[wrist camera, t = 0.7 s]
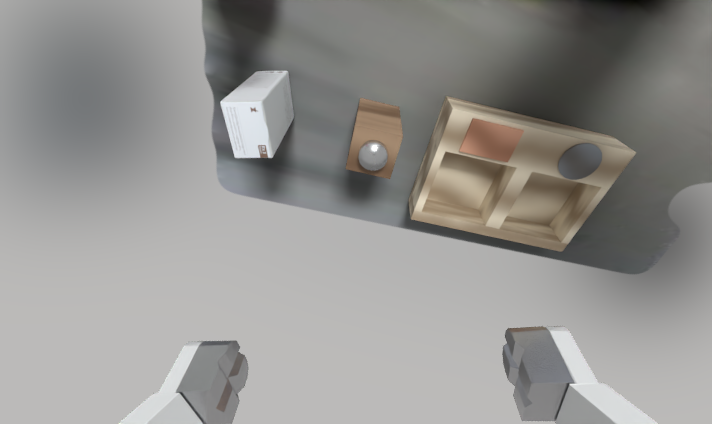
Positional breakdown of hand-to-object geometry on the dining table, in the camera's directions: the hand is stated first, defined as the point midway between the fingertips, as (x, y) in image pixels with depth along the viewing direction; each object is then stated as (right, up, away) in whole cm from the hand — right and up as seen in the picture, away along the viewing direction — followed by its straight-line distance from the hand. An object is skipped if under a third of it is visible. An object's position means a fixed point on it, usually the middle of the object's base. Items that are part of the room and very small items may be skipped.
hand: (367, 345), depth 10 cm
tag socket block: (+20, +10, +36) cm, 42 cm away
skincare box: (-10, +19, +33) cm, 39 cm away
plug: (+2, +16, +34) cm, 37 cm away
